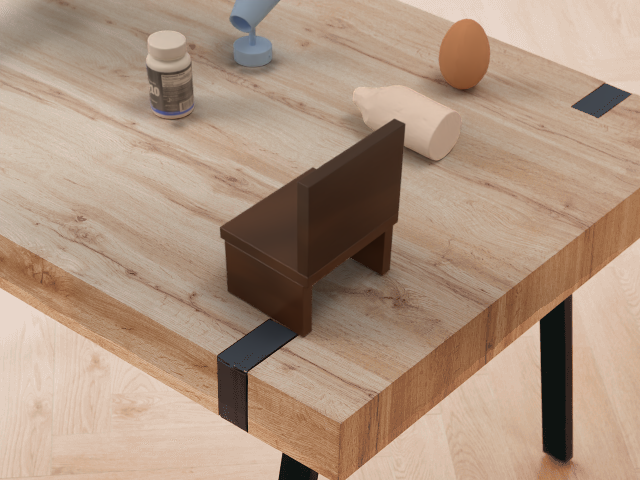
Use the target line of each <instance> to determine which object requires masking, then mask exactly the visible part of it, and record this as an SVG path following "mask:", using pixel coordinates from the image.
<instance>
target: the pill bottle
mask: <svg viewBox="0 0 640 480" xmlns="http://www.w3.org/2000/svg"><path fill="white" fill-rule="evenodd" d="M146 40H147V51H148V54H147V55H146V58H145V68H146V75H147V85H148V93H149V105H150V110H151V111H152V113H153V115H155V116H157V117H159V118H162V119H166V120H174V119H181V118H185V117H187V116H188V115H190V114H191V113H192V112H193V111H194V109H195V94H194V82H193V81H194V80H193V66H192V56H191V55H190V53H189V52H188V46H187V38H186V36H185V35H184V34H182V33H181V32H179V31H176V30H168V29H167V30H165V29H164V30H159V31H155V32H153V33H151V34H150V35H149V36H148V37H147V39H146Z"/></svg>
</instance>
